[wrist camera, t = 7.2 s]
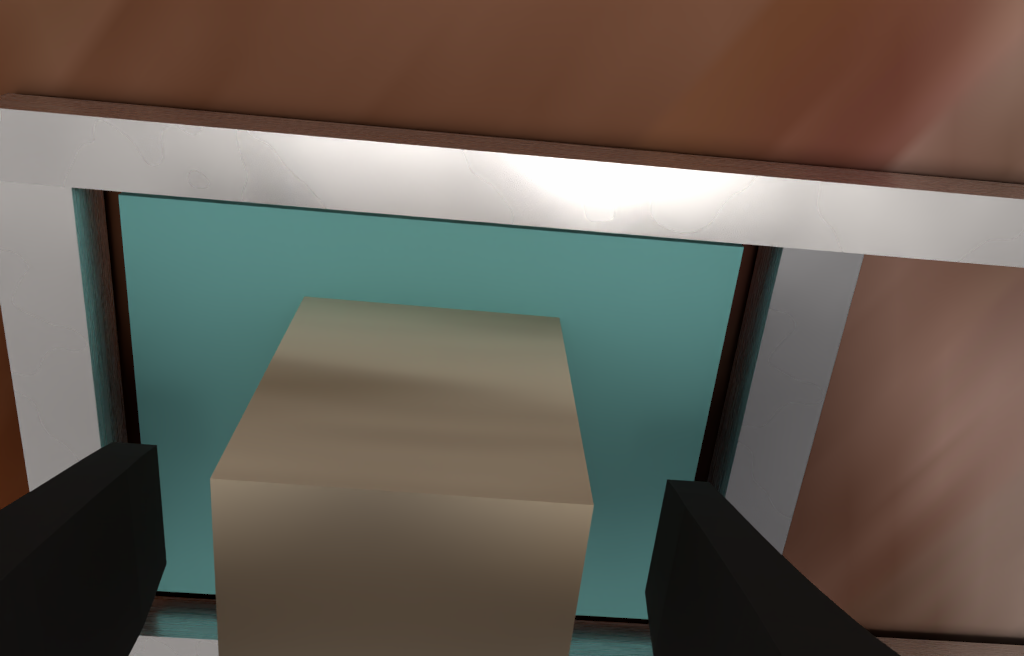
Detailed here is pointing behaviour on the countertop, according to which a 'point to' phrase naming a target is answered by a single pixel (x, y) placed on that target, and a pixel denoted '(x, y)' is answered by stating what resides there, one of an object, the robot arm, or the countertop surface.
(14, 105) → the rail frame
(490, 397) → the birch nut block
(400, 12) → the countertop surface
